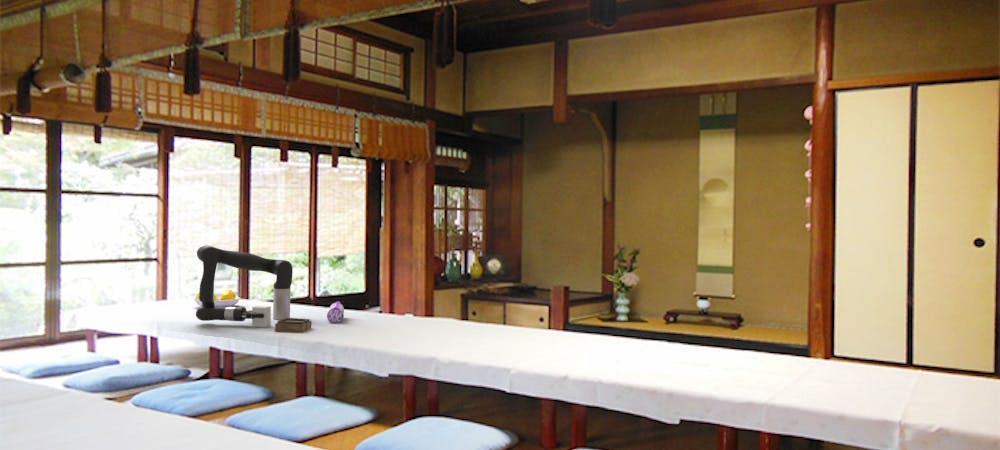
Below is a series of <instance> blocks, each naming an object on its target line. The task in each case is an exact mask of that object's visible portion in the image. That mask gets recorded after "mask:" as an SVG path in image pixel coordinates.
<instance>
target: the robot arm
mask: <svg viewBox="0 0 1000 450" xmlns="http://www.w3.org/2000/svg"><path fill="white" fill-rule="evenodd" d="M196 256H197V258H198V259H199V260H200V261H201V262H202V266H203V271H202V277H201V280H200V284H199V292H198V293H199V300H200V301H201V302H202V306H200V307H199V308H198V309H197V310H196V311H195V317H196V319H198V320H200V321H203V322H205V321H206V322H207V321H227V322H244V321H246V320H250V319H251V320H252V319H254V318H264V314H257V313H253V312H252V310H247V308H246V307H243V306H231V307H218V308H215V305H214V300H213V295H215V294H214V292H215V278H216V277H215V276H216V272H217V271H216V270H217V267H218V263H219V264H223V265H226V266H230V267H233V268H235V269H238V270H244V271H251V272H265V273H268V274H272V275H274V276H276V280H275V281H274V283H273V294H272V295H273V302H272V305H273V307H272V312H273V313H272V316H273V317H272V319H273V320H282V319H285V318H291V285H292V283H293V273H294V272H293V265H292V263H291V262H290V261H288V260H283V259H273V258H266V257H262V256H259V255H256V254H253V253H248V252H243V251H237V250H235V251H234V250H228V249H227V250H225V249H220V248H218V247H214V246H212V245H208V244H205V245H202V246H199V248H198V249H197V250H196Z"/></svg>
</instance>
